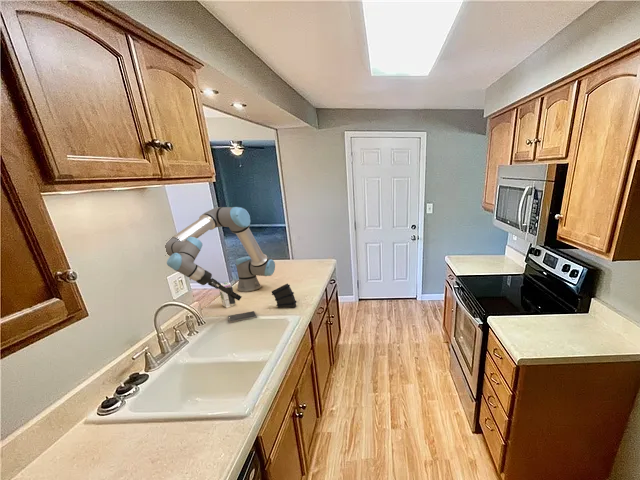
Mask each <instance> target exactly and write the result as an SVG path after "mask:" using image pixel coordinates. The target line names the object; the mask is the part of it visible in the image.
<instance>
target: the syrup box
mask: <svg viewBox="0 0 640 480" xmlns="http://www.w3.org/2000/svg"><path fill="white" fill-rule="evenodd" d="M220 283H221V285H222V286H224V287H227V286H232V285H231V283H230V282H227V281H225V282H220ZM218 290H219V295H220V300H221V304H222V306H223V307H224V308H227V309H228V308H231V307H233V306H230V303H229V298H228V296H227V295H228V294H226V293H225V292H223V291H222V290H220V289H218Z"/></svg>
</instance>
